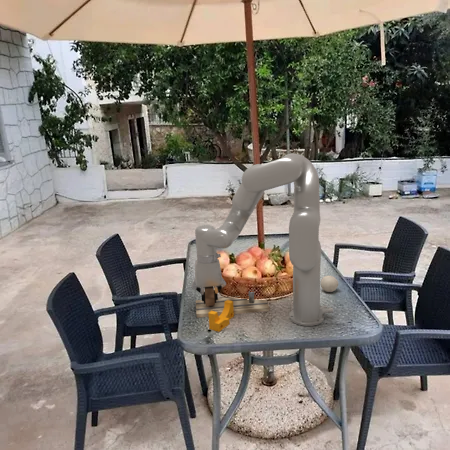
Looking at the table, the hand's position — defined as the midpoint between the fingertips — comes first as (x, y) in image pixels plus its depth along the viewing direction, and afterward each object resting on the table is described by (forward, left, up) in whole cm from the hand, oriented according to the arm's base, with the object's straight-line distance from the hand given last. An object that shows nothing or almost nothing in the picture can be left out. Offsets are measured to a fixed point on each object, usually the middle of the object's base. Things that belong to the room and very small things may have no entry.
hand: (209, 301), depth 160 cm
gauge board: (-8, 0, -3) cm, 9 cm away
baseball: (-50, -7, -4) cm, 51 cm away
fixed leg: (-16, 0, -2) cm, 17 cm away
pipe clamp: (-4, +12, -4) cm, 13 cm away
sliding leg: (0, 0, -1) cm, 1 cm away
